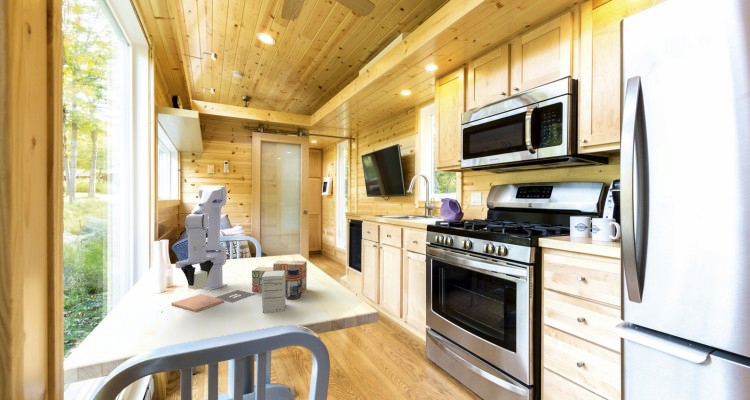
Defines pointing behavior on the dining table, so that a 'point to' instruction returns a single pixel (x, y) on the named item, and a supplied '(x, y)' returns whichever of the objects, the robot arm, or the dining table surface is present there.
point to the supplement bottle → (293, 284)
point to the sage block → (199, 280)
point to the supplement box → (273, 291)
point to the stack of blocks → (280, 266)
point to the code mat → (235, 296)
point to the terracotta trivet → (197, 302)
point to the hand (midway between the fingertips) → (197, 283)
